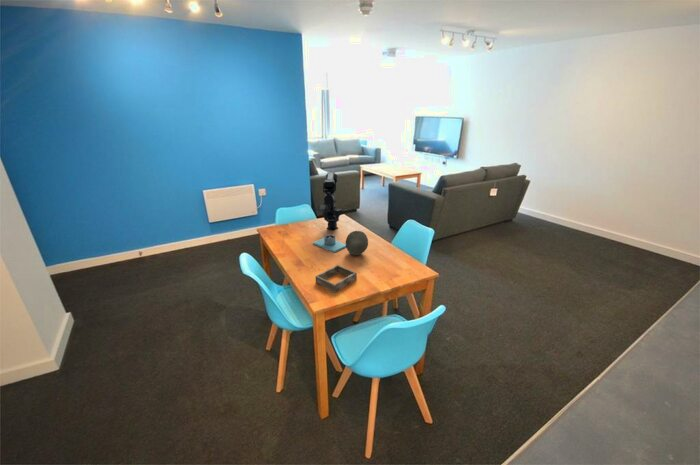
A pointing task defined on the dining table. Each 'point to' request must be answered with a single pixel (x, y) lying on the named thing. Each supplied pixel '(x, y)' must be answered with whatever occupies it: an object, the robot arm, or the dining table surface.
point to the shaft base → (333, 248)
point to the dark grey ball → (356, 242)
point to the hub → (329, 240)
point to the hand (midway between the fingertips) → (330, 221)
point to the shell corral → (339, 285)
